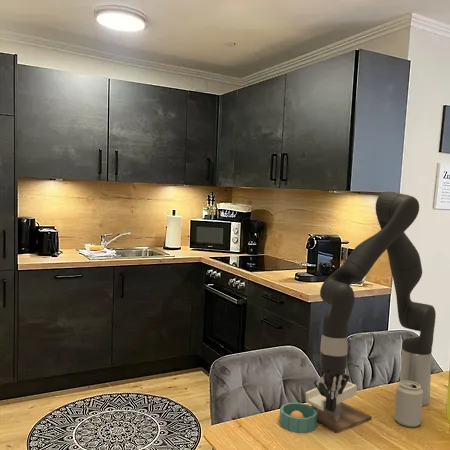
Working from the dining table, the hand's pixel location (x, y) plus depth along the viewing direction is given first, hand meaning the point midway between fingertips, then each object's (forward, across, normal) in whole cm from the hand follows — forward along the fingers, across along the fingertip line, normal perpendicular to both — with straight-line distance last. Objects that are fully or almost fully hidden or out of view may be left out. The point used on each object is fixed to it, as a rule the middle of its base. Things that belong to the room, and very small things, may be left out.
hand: (330, 409), depth 133 cm
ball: (+3, +7, -6) cm, 10 cm away
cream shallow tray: (0, -7, -4) cm, 8 cm away
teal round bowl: (+6, +5, -8) cm, 11 cm away
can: (+6, -24, +9) cm, 27 cm away
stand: (+6, -8, -4) cm, 11 cm away
